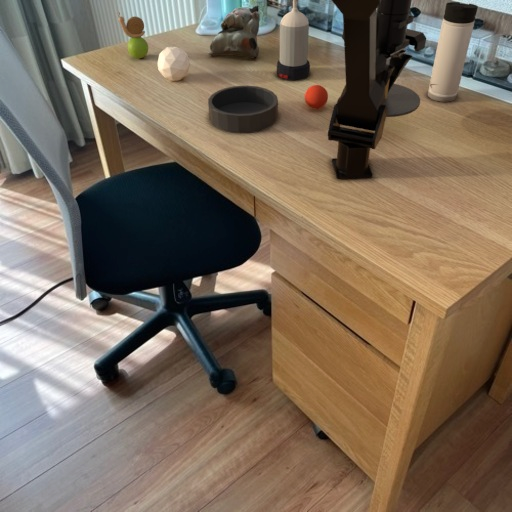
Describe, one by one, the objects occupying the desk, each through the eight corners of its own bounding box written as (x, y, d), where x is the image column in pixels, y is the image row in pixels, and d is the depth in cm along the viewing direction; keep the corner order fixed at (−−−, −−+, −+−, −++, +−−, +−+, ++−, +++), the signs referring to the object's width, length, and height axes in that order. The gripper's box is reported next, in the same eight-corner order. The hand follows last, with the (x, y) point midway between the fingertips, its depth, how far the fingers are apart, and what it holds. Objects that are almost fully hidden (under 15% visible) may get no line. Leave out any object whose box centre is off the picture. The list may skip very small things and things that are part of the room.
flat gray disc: (429, 118, 99) (435, 91, 96) (348, 121, 99) (351, 94, 95) (407, 85, 111) (412, 60, 107) (335, 88, 110) (337, 62, 107)
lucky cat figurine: (199, 54, 141) (206, -1, 138) (237, 64, 148) (245, 11, 145) (228, 54, 130) (237, -7, 126) (267, 64, 137) (276, 6, 133)
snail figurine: (123, 56, 142) (114, 9, 134) (146, 52, 144) (139, 5, 136) (128, 63, 138) (119, 15, 130) (152, 59, 140) (145, 11, 132)
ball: (328, 112, 115) (330, 90, 111) (305, 113, 114) (306, 91, 111) (325, 102, 118) (326, 80, 115) (303, 103, 118) (303, 81, 115)
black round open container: (280, 131, 108) (280, 114, 106) (209, 134, 108) (207, 117, 106) (274, 100, 119) (274, 84, 117) (210, 103, 119) (208, 86, 117)
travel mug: (424, 99, 118) (443, 4, 105) (431, 88, 123) (450, -5, 110) (452, 105, 116) (475, 8, 103) (458, 93, 121) (481, -1, 107)
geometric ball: (185, 89, 132) (198, 68, 125) (154, 84, 127) (166, 62, 121) (180, 65, 134) (192, 43, 128) (150, 59, 130) (161, 36, 123)
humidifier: (276, 81, 128) (277, -35, 111) (276, 68, 134) (277, -44, 118) (310, 80, 127) (316, -35, 111) (308, 67, 134) (314, -44, 117)
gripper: (382, -9, 103) (372, 70, 113) (324, 14, 92) (319, 99, 103) (434, 1, 97) (419, 84, 107) (379, 27, 87) (368, 116, 97)
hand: (381, 94), depth 104 cm, fingers closed on flat gray disc, 2 cm apart
